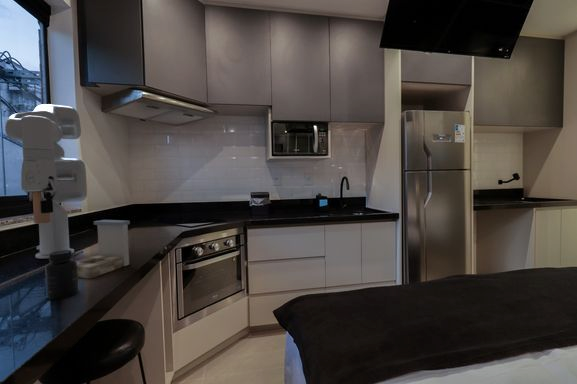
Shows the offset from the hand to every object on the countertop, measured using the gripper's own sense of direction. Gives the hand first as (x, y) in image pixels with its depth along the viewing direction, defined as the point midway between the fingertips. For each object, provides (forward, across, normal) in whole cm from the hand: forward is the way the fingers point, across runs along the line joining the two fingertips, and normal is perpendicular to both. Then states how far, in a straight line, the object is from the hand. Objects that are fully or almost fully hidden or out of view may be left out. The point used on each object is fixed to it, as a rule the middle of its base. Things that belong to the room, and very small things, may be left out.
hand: (42, 212), depth 92 cm
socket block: (+21, +10, +9) cm, 25 cm away
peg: (+3, 0, 0) cm, 3 cm away
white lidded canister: (+21, +10, +17) cm, 29 cm away
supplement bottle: (+22, +21, -9) cm, 32 cm away
